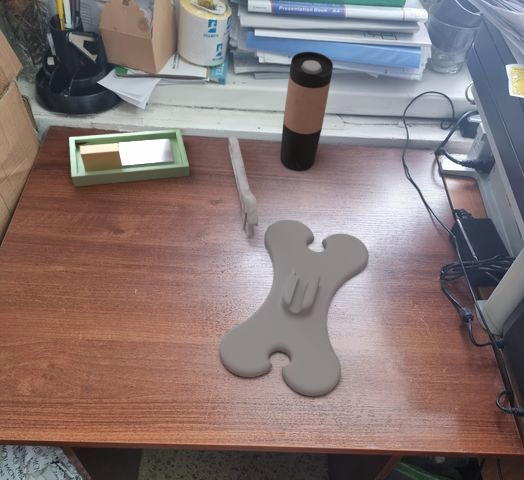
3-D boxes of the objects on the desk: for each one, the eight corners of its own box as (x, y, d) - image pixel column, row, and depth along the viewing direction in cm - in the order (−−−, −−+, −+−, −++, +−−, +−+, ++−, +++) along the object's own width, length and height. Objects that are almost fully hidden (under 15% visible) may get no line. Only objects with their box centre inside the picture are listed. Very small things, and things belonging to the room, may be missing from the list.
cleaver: (169, 143, 104) (167, 124, 100) (174, 165, 100) (172, 146, 96) (83, 150, 101) (78, 131, 97) (85, 173, 97) (80, 154, 93)
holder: (211, 369, 77) (210, 351, 73) (271, 221, 95) (274, 200, 91) (332, 404, 75) (339, 389, 71) (370, 247, 93) (377, 227, 89)
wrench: (236, 158, 108) (257, 249, 90) (227, 159, 108) (246, 250, 90) (237, 122, 102) (259, 211, 84) (228, 122, 102) (248, 212, 83)
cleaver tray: (74, 186, 96) (71, 176, 94) (71, 147, 102) (68, 137, 100) (189, 175, 100) (189, 166, 98) (180, 138, 106) (179, 128, 104)
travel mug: (281, 145, 107) (293, 48, 91) (316, 151, 107) (335, 54, 90) (276, 168, 103) (288, 70, 86) (313, 174, 103) (332, 77, 86)
